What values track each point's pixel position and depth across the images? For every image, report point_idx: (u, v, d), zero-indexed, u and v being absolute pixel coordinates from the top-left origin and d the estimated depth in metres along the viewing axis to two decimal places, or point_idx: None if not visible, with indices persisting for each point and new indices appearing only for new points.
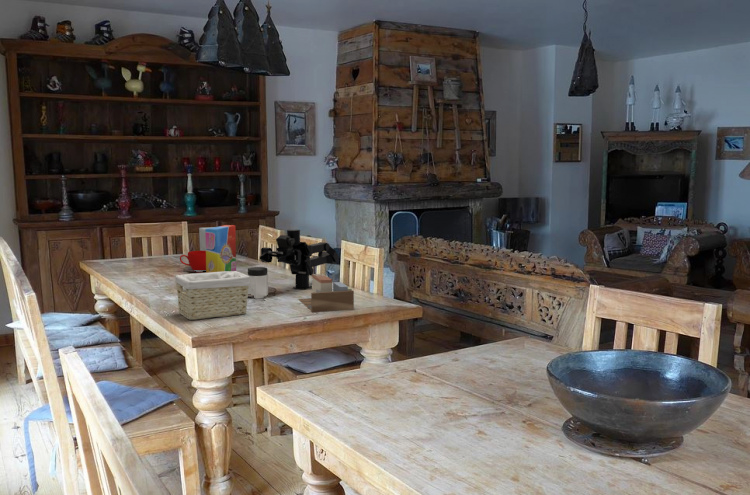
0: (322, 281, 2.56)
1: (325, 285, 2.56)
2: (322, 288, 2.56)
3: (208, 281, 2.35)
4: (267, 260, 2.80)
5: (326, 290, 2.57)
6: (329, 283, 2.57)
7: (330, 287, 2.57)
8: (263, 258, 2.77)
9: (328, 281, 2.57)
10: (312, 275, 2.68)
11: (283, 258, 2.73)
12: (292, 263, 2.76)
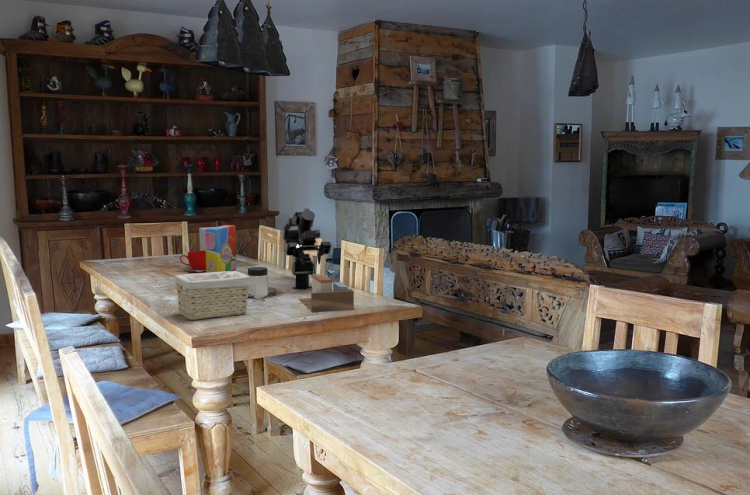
0: (322, 281, 2.56)
1: (325, 285, 2.56)
2: (322, 288, 2.56)
3: (208, 281, 2.35)
4: None
5: (326, 290, 2.57)
6: (329, 283, 2.57)
7: (330, 287, 2.57)
8: None
9: (328, 281, 2.57)
10: (312, 275, 2.68)
11: (320, 259, 2.81)
12: (321, 255, 2.86)
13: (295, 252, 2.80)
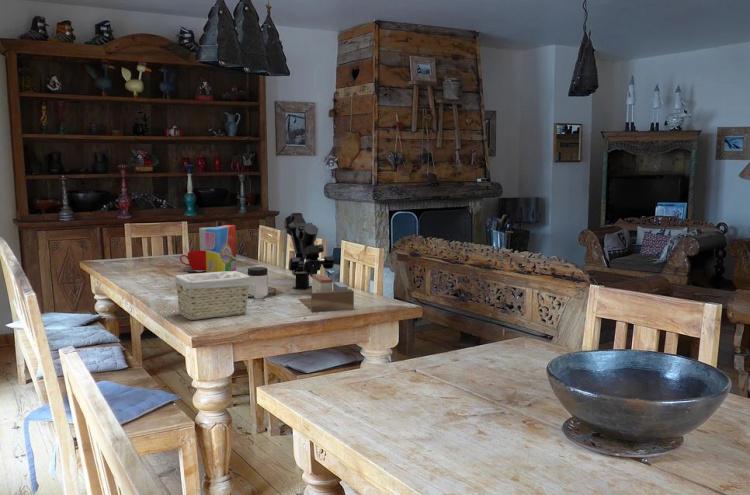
0: (322, 281, 2.56)
1: (325, 285, 2.56)
2: (322, 288, 2.56)
3: (208, 281, 2.35)
4: None
5: (326, 290, 2.57)
6: (329, 283, 2.57)
7: (330, 287, 2.57)
8: None
9: (328, 281, 2.57)
10: (312, 275, 2.68)
11: None
12: (318, 270, 2.80)
13: (306, 267, 2.77)
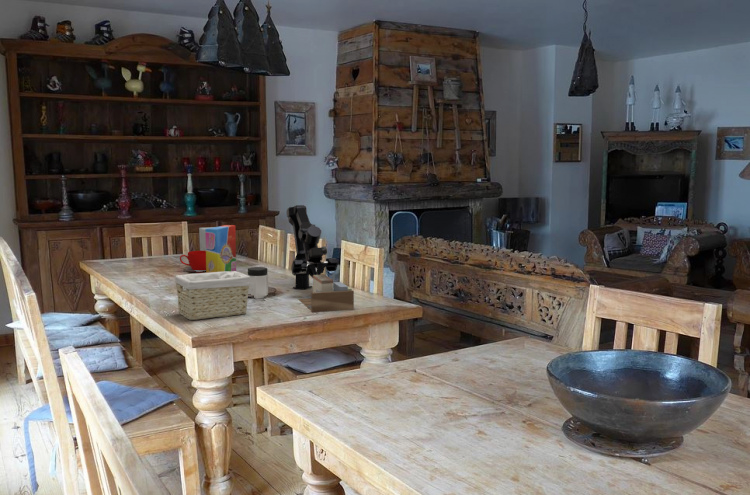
0: (323, 282, 2.55)
1: (326, 285, 2.55)
2: (323, 289, 2.55)
3: (208, 281, 2.35)
4: None
5: (327, 291, 2.56)
6: (330, 284, 2.56)
7: (331, 288, 2.56)
8: None
9: (329, 282, 2.55)
10: (313, 276, 2.67)
11: None
12: (321, 272, 2.75)
13: (308, 269, 2.72)
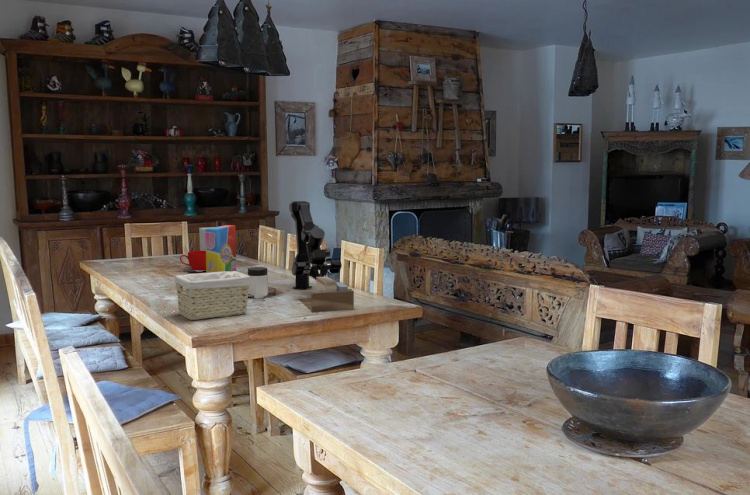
0: (326, 284, 2.50)
1: (329, 288, 2.50)
2: (326, 291, 2.50)
3: (208, 282, 2.35)
4: None
5: None
6: (333, 286, 2.51)
7: (334, 290, 2.51)
8: None
9: (332, 284, 2.50)
10: (316, 278, 2.62)
11: None
12: (324, 275, 2.70)
13: (311, 272, 2.67)
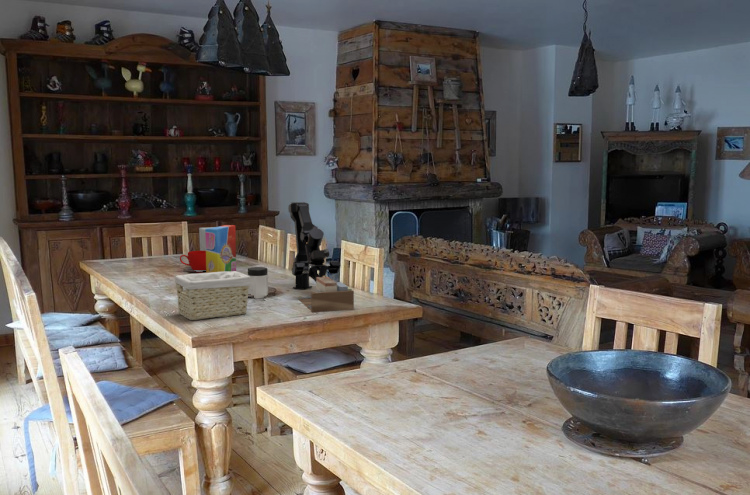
0: (327, 284, 2.49)
1: (330, 288, 2.50)
2: (327, 291, 2.50)
3: (209, 282, 2.35)
4: None
5: None
6: (334, 286, 2.50)
7: (335, 290, 2.51)
8: None
9: (333, 284, 2.50)
10: (316, 278, 2.62)
11: None
12: (323, 275, 2.72)
13: (310, 272, 2.68)
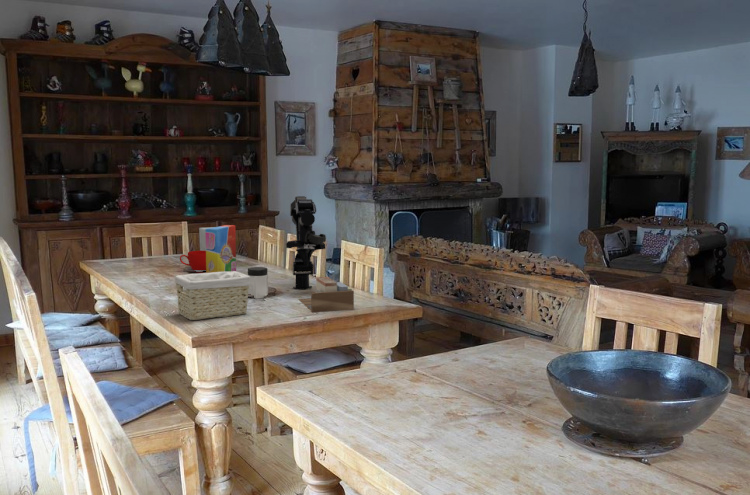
0: (327, 284, 2.49)
1: (330, 288, 2.50)
2: (327, 291, 2.50)
3: (209, 282, 2.35)
4: None
5: None
6: (334, 286, 2.50)
7: (335, 290, 2.51)
8: None
9: (333, 284, 2.50)
10: (316, 278, 2.62)
11: None
12: None
13: (301, 250, 2.76)
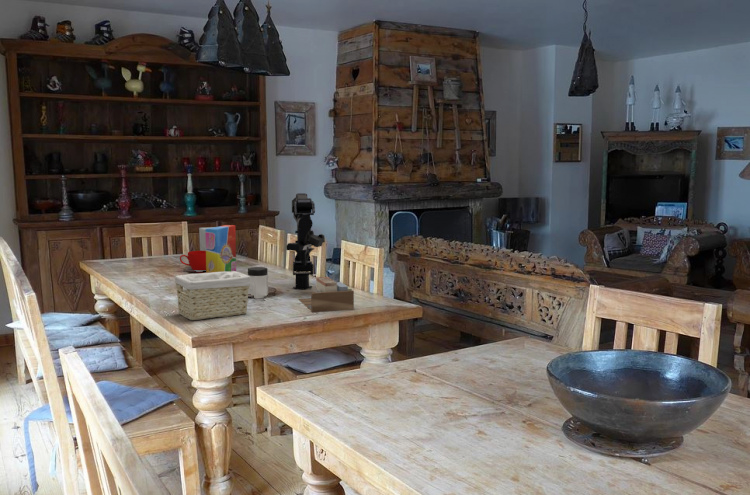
0: (327, 284, 2.49)
1: (330, 288, 2.50)
2: (327, 291, 2.50)
3: (209, 282, 2.35)
4: None
5: None
6: (334, 286, 2.50)
7: (335, 290, 2.51)
8: None
9: (333, 284, 2.50)
10: (316, 278, 2.62)
11: None
12: None
13: (300, 250, 2.76)
